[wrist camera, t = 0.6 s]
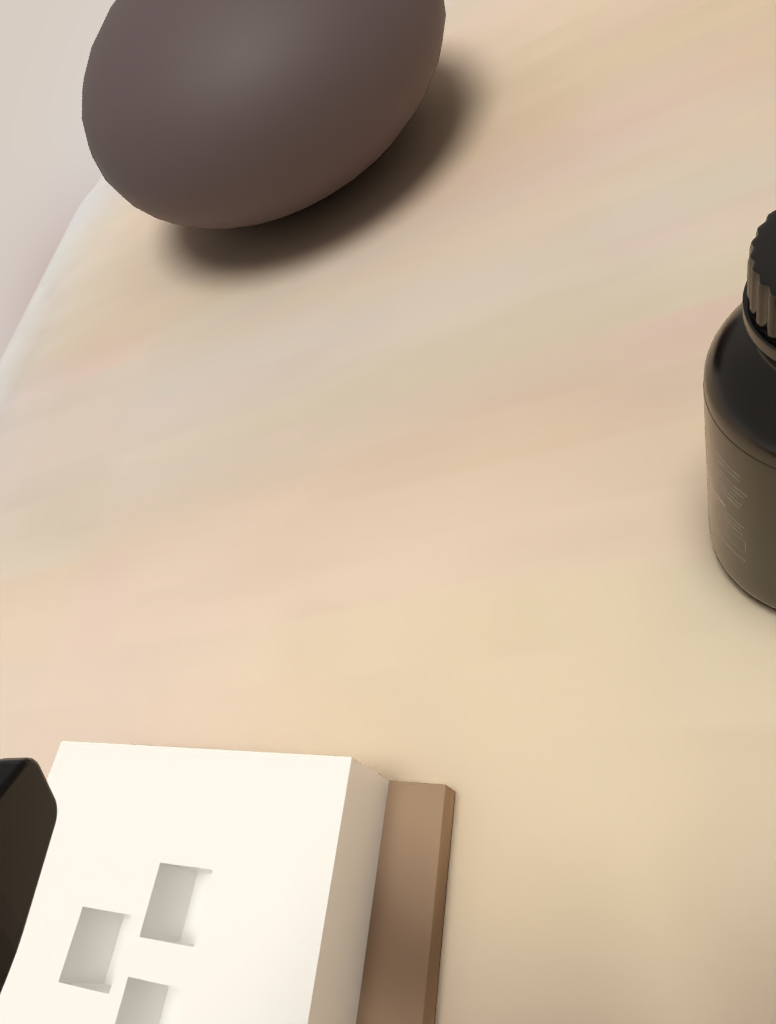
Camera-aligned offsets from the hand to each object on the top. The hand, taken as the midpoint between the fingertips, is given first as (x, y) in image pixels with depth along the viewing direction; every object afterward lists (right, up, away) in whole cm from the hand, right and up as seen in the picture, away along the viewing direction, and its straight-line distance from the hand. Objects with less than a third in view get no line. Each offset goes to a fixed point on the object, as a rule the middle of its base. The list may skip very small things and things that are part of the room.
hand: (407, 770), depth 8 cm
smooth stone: (-6, +28, +43) cm, 52 cm away
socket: (-7, -12, +15) cm, 20 cm away
